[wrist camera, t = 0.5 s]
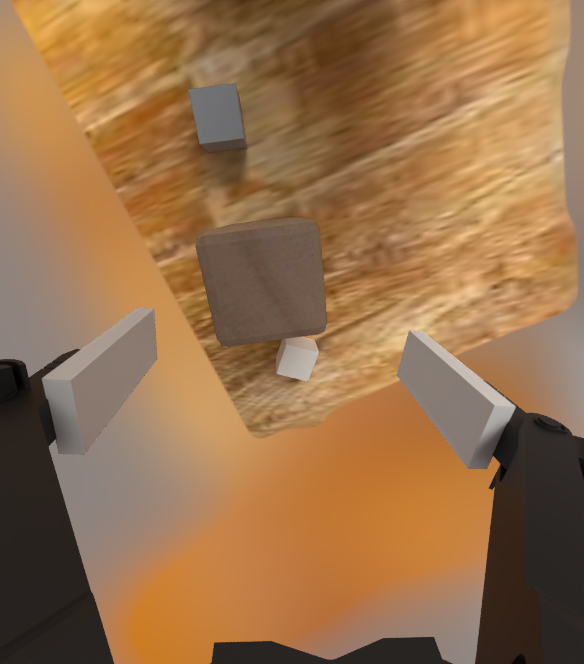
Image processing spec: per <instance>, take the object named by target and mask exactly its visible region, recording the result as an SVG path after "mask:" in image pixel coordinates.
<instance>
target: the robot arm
mask: <svg viewBox="0 0 584 664" xmlns="http://www.w3.org/2000/svg"><path fill="white" fill-rule="evenodd" d="M156 360H157V347H156V330H155V313H154V309H151V308H139V307H138V308H136V309H135V310H134V311H132V312H131V313H130V314H128V315H127V316H126V317H124V318H123V319H122V320H120V321H119V322H117V323H116V324H115V325H113V326H112V327H111V328H109V329H108V330H107V331H105V332H104V333H103V334H101V335H100V336H99V337H98V338H96V339H94V340H93V341H92V342H90V343H89V344H88V345H86V346H85V347H84V348H82V349H75V350H73V351H70V352H67V353H65V354H62V355H61V356H59V357H58V358H57V359H55V360H54V361H53V362H52V363H49V364H48V365H47V366H45V367H44V369H41V370H39V371H38V372H36V373H35V374H34V375H32V376H31V377H28V373H27V369H26V365H25V363H23V362H22V361H19V360H15V359H2V360H0V664H114V662H113V658H112V655H111V652H110V648H109V645H108V642H107V638H106V635H105V631H104V628H103V625H102V622H101V618H100V615H99V611H98V608H97V605H96V602H95V599H94V596H93V593H92V592H91V590H90V587H89V583H88V580H87V576H86V573H85V570H84V567H83V563H82V559H81V556H80V553H79V549H78V546H77V542H76V539H75V536H74V532H73V529H72V525H71V522H70V518H69V515H68V512H67V508H66V505H65V501H64V498H63V495H62V492H61V488H60V484H59V481H58V478H57V474H56V471H55V467H54V464H53V461H52V457H51V454H50V450H49V447H48V446H49V445H50V444H51V443H52V442H53V441H54V440H55V439H56V443H57V448H58V452H59V454H81V455H84V454H85V453H86V452H87V451H88V449H89V448H90V447H91V445H92V444H93V443H94V441H95V440H96V439H97V438H98V436H99V435H100V434H101V432H102V431H103V430H104V428H105V427H106V426H107V424H108V423H109V422H110V420H111V419H112V418H113V416H114V415H115V414H116V412H117V411H118V410H119V408H120V407H121V406H122V405H123V403H124V402H125V401H126V399H127V398H128V397H129V395H130V394H131V393H132V391H133V390H134V388H135V387H136V386H137V385H138V384H139V382H140V381H141V379H142V378H143V377H144V376H145V374H146V373H147V372H148V370H149V369H150V368H151V366H152V365H153V364H154V362H155V361H156ZM397 376H398V378H399V379H400V380H401V381H402V383H403V384H404V385H405V387H406V388H407V389H408V391H409V392H410V393H411V395H412V396H413V397H414V399H415V400H416V401H417V403H418V404H419V405H420V407H421V408H422V409H423V410H424V412H425V413H426V414H427V416H428V417H429V418H430V420H431V421H432V422H433V424H434V425H435V426H436V428H437V429H438V430H439V432H440V433H441V434H442V436H444V438H445V440H446V441H447V442H448V444H449V445H450V446H451V448H452V449H453V450H454V451H455V453H456V454H457V455H458V457H459V458H460V459H461V461H462V462H463V463H464V464H465V466H466V467H467V468H471V469H487V468H488V465H489V463H490V461H491V459H492V457H493V456H494V457H495V458H496V459H497V460H498V461H499V463H500V466H499V468H498V470H497V472H496V474H495V476H494V478H493V481H492V483H491V485H490V487H489V488H490V489H493V488H494V487H495V490H494V500H493V509H492V517H491V526H490V535H489V545H488V553H487V563H486V573H485V582H484V590H483V599H482V608H481V617H480V627H479V636H478V645H477V653H476V661H475V664H584V438H581V437H577V436H573V435H572V433H571V432H570V430H569V429H568V428H567V427H565V426H564V425H563V424H561V423H559V422H558V421H556V420H554V419H552V418H549V417H547V416H544V415H540V414H537V413H526V412H524V411H523V410H522V409H521V408H519V407H518V406H517V405H516V404H514V403H513V402H512V401H511V400H509V399H508V398H507V397H504V395H503V394H502V393H500V392H499V391H497V389H496V388H494V387H493V386H492V385H490V384H489V383H488V382H486V381H484V380H482V379H481V378H480V377H479V376H477V375H476V374H475V373H474V372H472V371H471V370H470V369H469V368H467V367H466V366H465V365H464V364H462V363H461V362H460V361H458V360H457V359H456V358H455V357H454V356H452V355H451V354H450V353H449V352H448V351H446V350H445V349H444V348H443V347H441V346H440V345H439V344H438V343H436V342H435V341H434V340H433V339H431V338H430V337H429V336H428V335H426V334H425V333H424V332H422V331H411V330H409V333H408V336H407V340H406V344H405V347H404V351H403V354H402V358H401V362H400V365H399V369H398V372H397ZM211 664H452V663H450V662H447V661H446V660H443V659H442V657H441V655H440V652H439V649H438V647H437V644H436V642H435V639H434V637H414V638H383V639H380V640H378V641H376V642H374V643H371V644H369V645H367V646H364V647H362V648H360V649H357V650H355V651H353V652H351V653H348V654H346V655H344V656H341V657H339V658H337V659H334V660H327V659H323V658H321V657H317V656H314V655H311V654H308V653H305V652H302V651H299V650H296V649H293V648H290V647H287V646H284V645H281V644H278V643H275V642H272V641H261V642H259V641H258V642H221V643H220V642H219V643H214V648H213V656H212V663H211Z"/></svg>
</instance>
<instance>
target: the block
mask: <svg viewBox="0 0 584 664" xmlns="http://www.w3.org/2000/svg"><path fill="white" fill-rule="evenodd" d="M196 250H197V255H198V259H199V263H200V267H201V272H202V276H203V280H204V285H205V289H206V293H207V298H208V302H209V306H210V311H211V315H212V319H213V323H214V328H215V332H216V336H217V339H218V340H219V342H220V343H221V345H222V346H227V347H230V346H237V345H244V344H251V343H258V342H266V341H273V340H280V339H287V338H294V337H302V336H309V335H316V334H320V333H322V332H324V331H325V328H326V325H327V313H326V301H325V289H324V277H323V264H322V252H321V240H320V229H319V227H318V225H317V223H316V221H314V220H311V219H308V218H300V217H286V218H278V219H270V220H263V221H255V222H247V223H240V224H232V225H228V226H224V227H220V228H216V229H212V230H208V231H205V232H203V233H201V234H200V235H198V236H197V240H196Z"/></svg>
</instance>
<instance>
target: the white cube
mask: <svg viewBox="0 0 584 664" xmlns="http://www.w3.org/2000/svg"><path fill="white" fill-rule="evenodd" d="M318 354H319V351H318V349H317V346H316V343H315V340H313V339H310V338H306V337H294V338H287V339H282V341H281V344H280V347H279V350H278V353H277V356H276V374H279V375H283V376H287V377H291V378H295V379H299V380H303V381H307V382H308V380H309V378H310V375H311V372H312V370H313V367H314V365H315V362H316V359H317V357H318Z"/></svg>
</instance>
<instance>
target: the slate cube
mask: <svg viewBox="0 0 584 664" xmlns="http://www.w3.org/2000/svg"><path fill="white" fill-rule="evenodd" d="M188 91H189V95H190V100H191V105H192V110H193V115H194V120H195V124H196V129H197V134H198V139H199V144H200V145H201V146H202V147H203V148H204V149H205V150H206V151H207V152H208V153H209V152H217V151H225V150H232V149H240V148H247V143H246V136H245V130H244V124H243V117H242V111H241V104H240V99H239V95H238V91H237V87H236V83H234V84H226V85H218V86H210V87H202V88H194V89H188Z"/></svg>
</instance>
